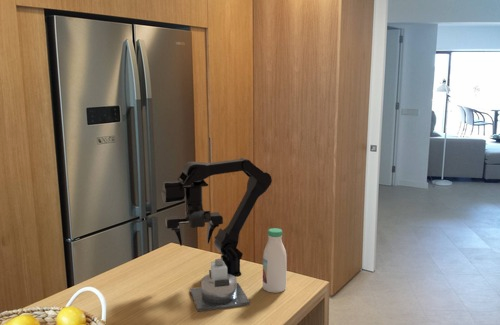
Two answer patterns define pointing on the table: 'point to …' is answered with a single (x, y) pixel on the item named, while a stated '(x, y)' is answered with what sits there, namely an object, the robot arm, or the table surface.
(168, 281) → the table surface
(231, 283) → the grey stacked fixture
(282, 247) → the milk bottle
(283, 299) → the table surface
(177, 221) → the robot arm
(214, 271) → the pump
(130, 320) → the table surface
